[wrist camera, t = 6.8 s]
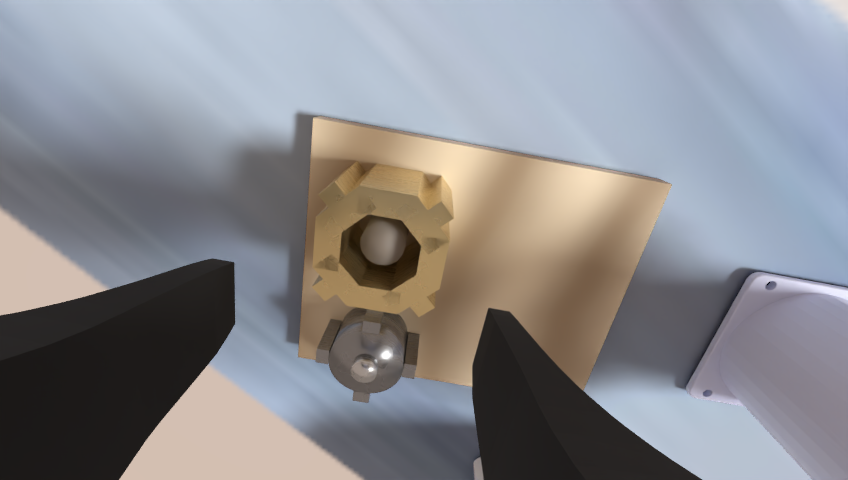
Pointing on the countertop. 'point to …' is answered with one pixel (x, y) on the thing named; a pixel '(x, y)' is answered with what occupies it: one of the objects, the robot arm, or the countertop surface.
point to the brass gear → (341, 232)
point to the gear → (369, 351)
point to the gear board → (494, 245)
